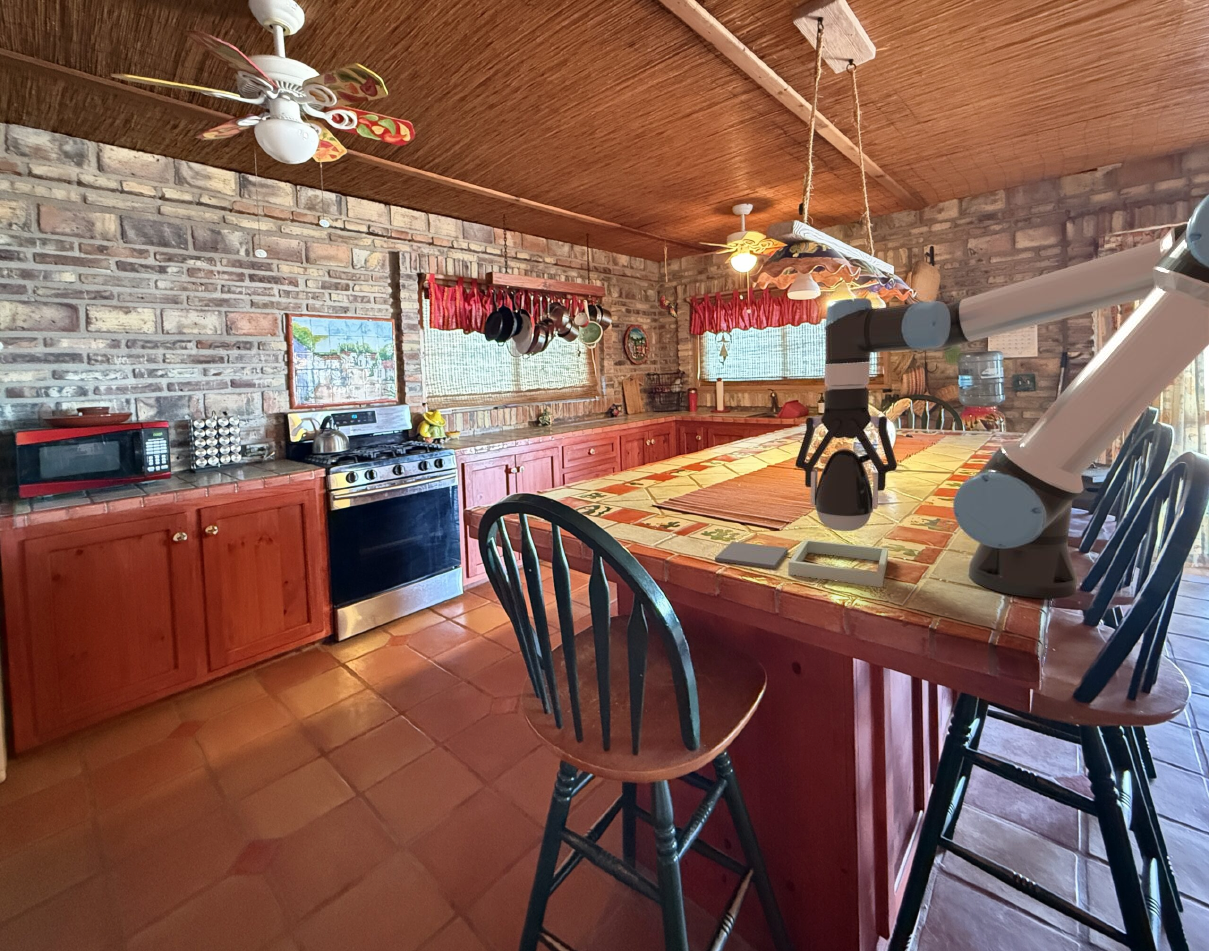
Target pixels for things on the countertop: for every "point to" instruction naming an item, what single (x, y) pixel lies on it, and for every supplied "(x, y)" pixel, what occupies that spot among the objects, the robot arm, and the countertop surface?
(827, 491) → the pump dispenser
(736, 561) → the mat
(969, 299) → the robot arm
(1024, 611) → the countertop surface
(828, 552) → the gray rectangular frame
